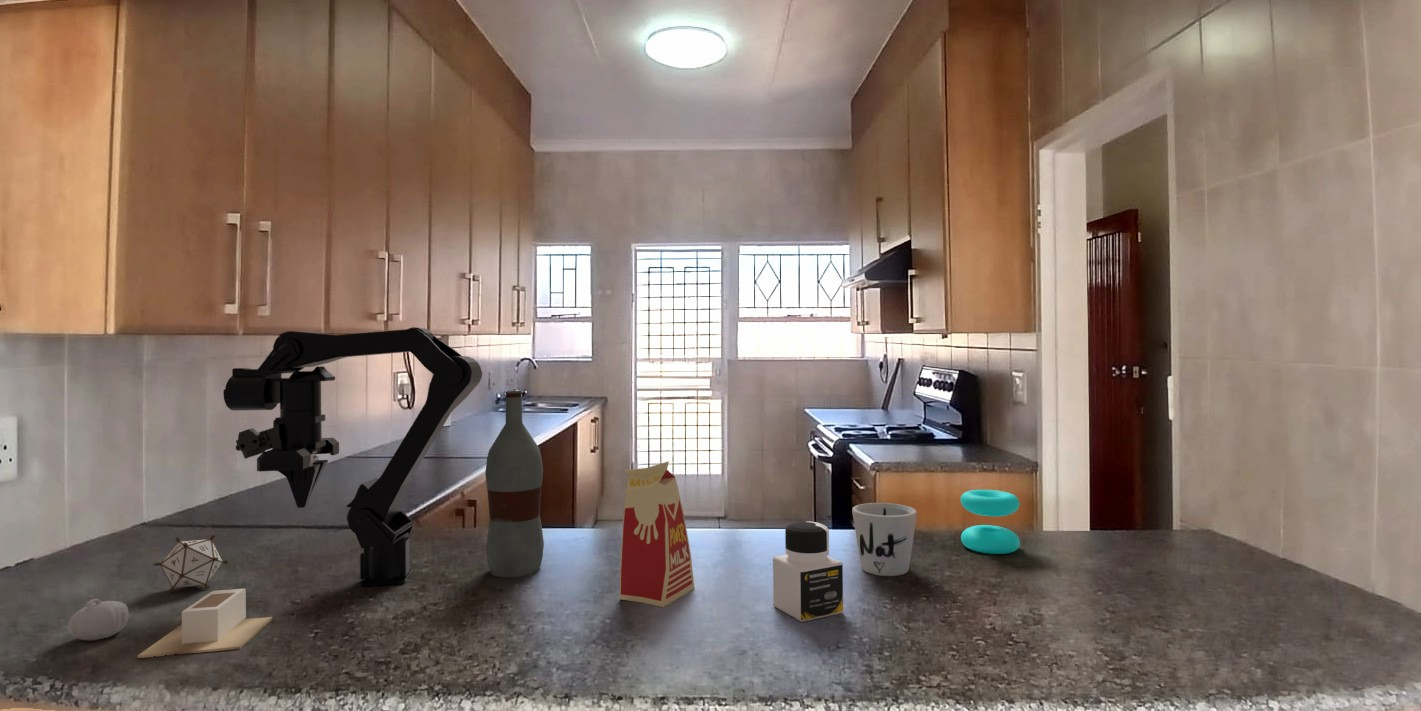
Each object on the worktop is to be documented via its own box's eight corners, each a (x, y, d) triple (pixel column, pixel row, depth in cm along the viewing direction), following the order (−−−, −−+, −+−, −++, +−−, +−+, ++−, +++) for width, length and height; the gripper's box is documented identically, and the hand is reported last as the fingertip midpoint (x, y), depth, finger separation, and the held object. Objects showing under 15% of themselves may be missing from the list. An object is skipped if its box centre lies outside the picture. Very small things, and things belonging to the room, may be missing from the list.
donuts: (1012, 501, 120) (953, 495, 126) (1012, 559, 120) (954, 550, 126) (1024, 491, 128) (969, 486, 134) (1025, 546, 128) (969, 538, 134)
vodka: (541, 559, 123) (540, 389, 123) (546, 575, 114) (544, 391, 114) (485, 565, 120) (484, 390, 120) (486, 581, 111) (484, 393, 111)
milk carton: (694, 587, 107) (693, 457, 107) (665, 608, 99) (664, 466, 99) (643, 580, 111) (641, 454, 111) (611, 599, 103) (609, 463, 103)
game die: (194, 615, 108) (178, 575, 102) (152, 592, 109) (133, 552, 104) (245, 572, 115) (232, 533, 109) (205, 551, 117) (190, 511, 111)
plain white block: (245, 588, 96) (217, 608, 88) (245, 617, 96) (218, 640, 88) (212, 590, 95) (181, 611, 87) (213, 620, 95) (182, 643, 87)
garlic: (78, 650, 86) (77, 608, 86) (62, 641, 89) (62, 600, 89) (137, 633, 92) (137, 594, 92) (121, 625, 94) (120, 587, 94)
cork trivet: (272, 619, 96) (272, 616, 96) (240, 648, 86) (240, 646, 86) (181, 626, 94) (181, 624, 94) (137, 658, 84) (137, 655, 84)
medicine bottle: (801, 623, 93) (800, 533, 93) (772, 606, 99) (771, 521, 99) (844, 613, 96) (843, 526, 96) (813, 597, 102) (812, 516, 102)
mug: (847, 575, 112) (846, 513, 112) (863, 550, 126) (862, 495, 126) (914, 582, 109) (913, 518, 109) (923, 556, 122) (922, 499, 122)
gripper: (268, 406, 119) (269, 498, 119) (216, 416, 101) (217, 524, 101) (339, 405, 122) (340, 494, 122) (301, 414, 103) (302, 519, 103)
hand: (301, 507), depth 112 cm, fingers closed
